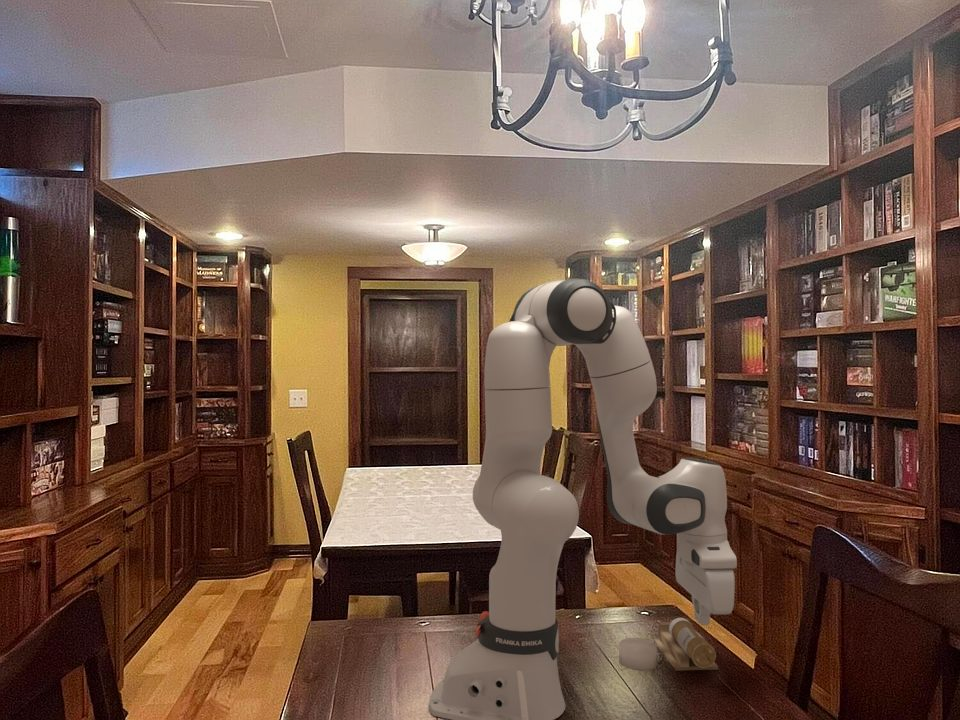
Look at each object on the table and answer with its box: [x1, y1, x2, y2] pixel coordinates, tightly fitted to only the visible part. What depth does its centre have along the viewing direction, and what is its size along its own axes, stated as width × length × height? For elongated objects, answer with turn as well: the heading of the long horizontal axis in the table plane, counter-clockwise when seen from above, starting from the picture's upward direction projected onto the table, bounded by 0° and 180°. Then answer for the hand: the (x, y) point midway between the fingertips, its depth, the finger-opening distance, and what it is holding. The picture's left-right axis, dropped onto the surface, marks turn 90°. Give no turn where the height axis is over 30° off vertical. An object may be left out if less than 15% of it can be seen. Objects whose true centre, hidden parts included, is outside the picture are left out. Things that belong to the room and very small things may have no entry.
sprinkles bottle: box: [669, 617, 717, 668], centre depth 137 cm, size 5×5×14 cm
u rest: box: [653, 621, 719, 671], centre depth 141 cm, size 14×8×4 cm, turn 3°
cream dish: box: [618, 637, 658, 671], centre depth 137 cm, size 7×7×4 cm
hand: (702, 622), depth 131 cm, fingers closed
